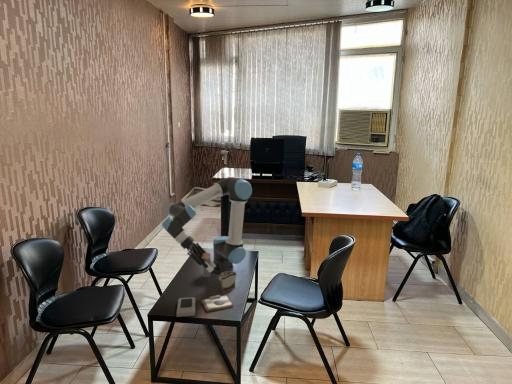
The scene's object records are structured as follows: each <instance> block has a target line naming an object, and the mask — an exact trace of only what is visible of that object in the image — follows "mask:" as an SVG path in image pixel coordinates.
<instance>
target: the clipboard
mask: <svg viewBox="0 0 512 384" xmlns="http://www.w3.org/2000/svg"><path fill="white" fill-rule="evenodd" d="M201 303H202V305H203V308H204V309H205V311H206V313H211V312H217V311H221V310H225V309H229V308H234V304H233V302H232V301H231V299H230V297H229V296H228V295H227V294H226V295H220V294H217V295H212V296H209V297H208V298H205V299H201Z"/></svg>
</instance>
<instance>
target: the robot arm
mask: <svg viewBox="0 0 512 384" xmlns="http://www.w3.org/2000/svg"><path fill="white" fill-rule="evenodd" d="M226 195H228V197H229V199H228V200H229V202H231V204H230V213H229V215H230V216H229V226H228V236H226V235H223V236H221V235H220V236H217V237H215V238H214V239H213V241H212V245H213V246H212V247H213V251H212V252H213V260H211V259H210V265H209V264H208V263H207V262H206V261H204V260H203V259H202V254H203V253H207V252H206V250H204V248H202V246H201V245H200V244H199V242H196V243H195V242H194V240H195V239H194V238H193V237H192V236H191V235H190V234H189V233H188V231H186V230H185V229H184V228H183V227H185V225H187V224H188V223H190V221H191V220H192V219H194V217H195V216H196V215H197V212H196V210H195V209H196V208H198V207H200V206H202V205H204V204H206V203H208V202H209V201H212V200H214V199H216V198H218V197H224V196H226ZM251 195H253V188H252V184H251V183H250V182H249V181H247V180H245V179H241V178H237V177H234V176H231V177H226V178H224V179H221V180H218V181H217V182H214V184H213V185H212V186H210V187H207V188H206V189H203V190H201V191H199V192H197V193H195V194H193V195H191V196H190V197H188V198H185V199H183V200H181V201H180V202H177V203H174V202H173V203H172V202H171V203H169V205H168V206H167V209H166V210H167V213H168V214H169V215H170V216H168V217H167V218H166V219H164V221H162V223H161V226H162V228H164V230H165V231H166V232H167V233H168V234H169V235H170V236H171V238H173V239H174V241H175V242H177V243H178V244H180V246H181V248H183V250H187V251H188V252H187V253H186V254H187V255H188V256H189V257H190V258H191V259H192V260H193V261H194V262H195V263H197V265H199V267H200V266H202V267H203V266H204V267H205V268H206V269H207V270H208V271H209V272H210V273H214V274H217V275H220V274H221V273H222V272H225V271H234V265H238V264H241V263H242V262H243V261H244V260H245V258H246V255H247V250H246V249H245V247H244V241H243V240H242V235H243V224H244V216H245V204H246V203H248V199H249V198H250V197H251Z"/></svg>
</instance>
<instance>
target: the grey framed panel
mask: <svg viewBox="0 0 512 384" xmlns="http://www.w3.org/2000/svg"><path fill="white" fill-rule="evenodd" d="M196 302H197V301H196V297H179V298H178V300H177V308H176V317H177V318H179V317H191V316H192V317H193V316H196Z"/></svg>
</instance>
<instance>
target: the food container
mask: <svg viewBox="0 0 512 384" xmlns="http://www.w3.org/2000/svg"><path fill="white" fill-rule="evenodd" d="M218 275H219V276H218V281H219V282H220V293H222V294H224V293H227V292H228V291H231V290H233V289H235V287H236V281H237V280H236V277H237V275H238V274H237V272H236V271H234V270H233V271H225V272H222V273H221V274H218Z"/></svg>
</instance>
